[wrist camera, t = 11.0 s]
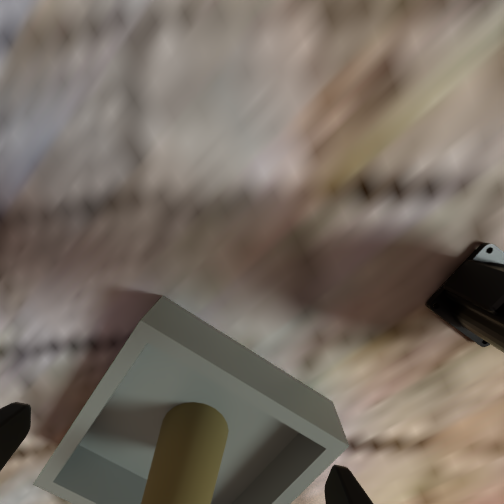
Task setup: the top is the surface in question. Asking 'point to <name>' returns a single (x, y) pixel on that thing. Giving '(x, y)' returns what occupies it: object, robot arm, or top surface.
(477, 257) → the robot arm
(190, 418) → the olive gourd-shaped piece
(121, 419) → the tray
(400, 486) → the top surface
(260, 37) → the top surface
